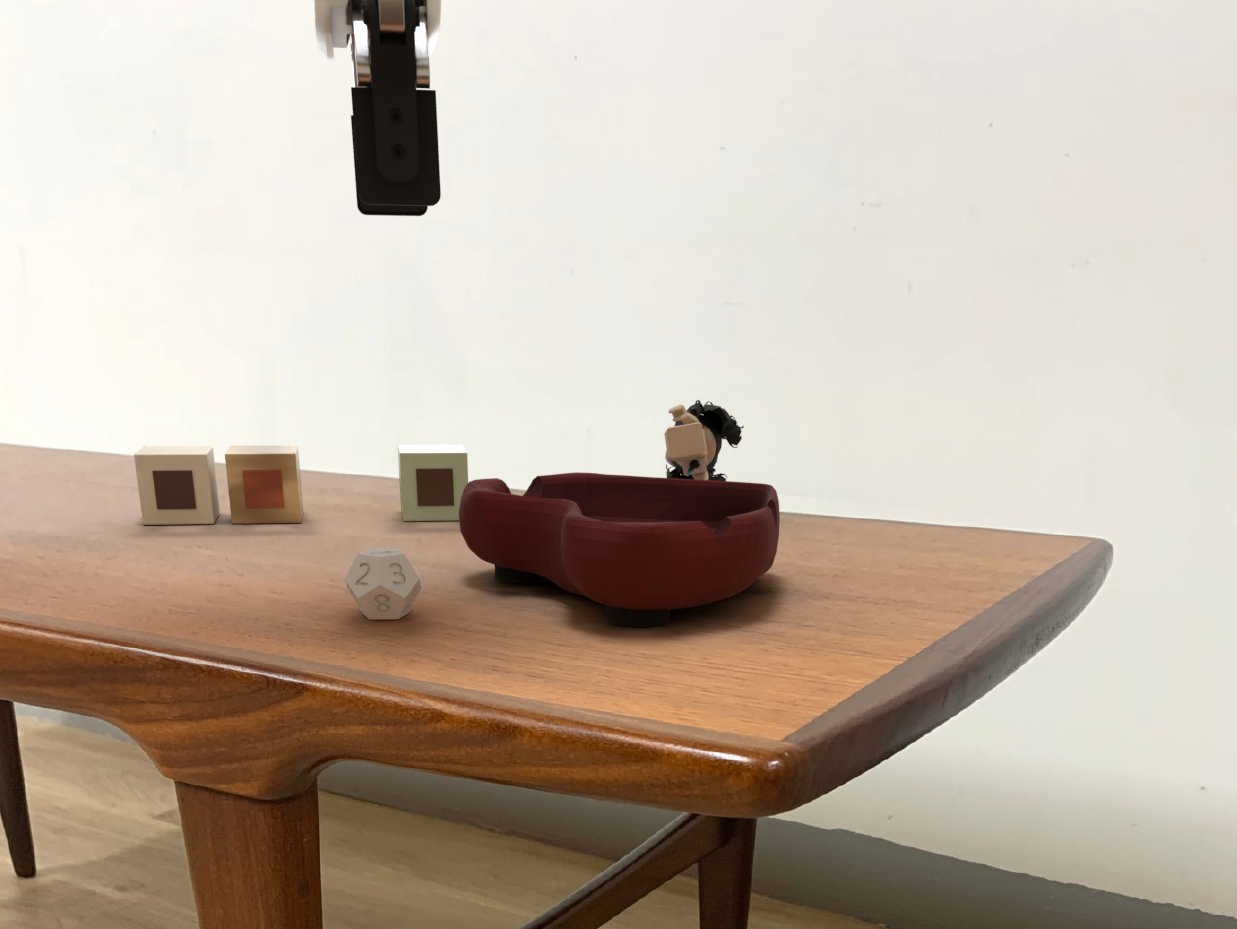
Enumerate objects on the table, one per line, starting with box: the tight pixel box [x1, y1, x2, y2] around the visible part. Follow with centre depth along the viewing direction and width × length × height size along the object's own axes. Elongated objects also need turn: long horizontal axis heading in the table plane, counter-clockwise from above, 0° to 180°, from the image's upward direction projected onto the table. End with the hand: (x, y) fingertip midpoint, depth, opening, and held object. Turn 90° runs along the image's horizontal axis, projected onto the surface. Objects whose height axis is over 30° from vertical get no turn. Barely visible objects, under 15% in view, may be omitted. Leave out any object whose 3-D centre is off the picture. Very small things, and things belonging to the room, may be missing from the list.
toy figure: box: [664, 399, 745, 481], centre depth 96 cm, size 7×6×15 cm
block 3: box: [397, 444, 469, 522], centre depth 90 cm, size 4×4×4 cm
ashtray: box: [459, 471, 781, 628], centre depth 70 cm, size 18×16×5 cm
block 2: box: [224, 445, 304, 525], centre depth 88 cm, size 4×4×4 cm
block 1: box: [133, 445, 221, 526], centre depth 87 cm, size 4×4×4 cm
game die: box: [343, 548, 422, 621], centre depth 64 cm, size 4×4×3 cm
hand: (396, 210), depth 57 cm, fingers open, 9 cm apart
